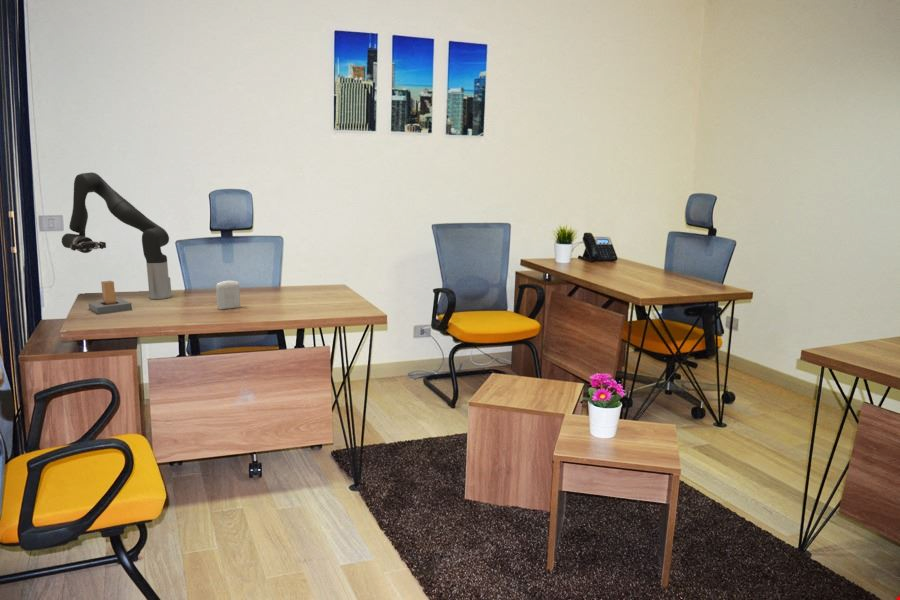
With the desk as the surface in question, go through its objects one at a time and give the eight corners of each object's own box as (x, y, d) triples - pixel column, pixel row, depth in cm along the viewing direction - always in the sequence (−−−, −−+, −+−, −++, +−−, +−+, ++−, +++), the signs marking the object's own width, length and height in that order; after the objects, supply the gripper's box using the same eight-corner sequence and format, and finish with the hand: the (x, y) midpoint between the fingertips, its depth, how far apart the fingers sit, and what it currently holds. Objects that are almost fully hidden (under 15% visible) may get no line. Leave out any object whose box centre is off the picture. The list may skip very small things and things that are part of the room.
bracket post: (113, 307, 322) (110, 280, 320) (116, 308, 319) (113, 282, 316) (103, 308, 320) (101, 281, 317) (106, 310, 316) (104, 283, 314)
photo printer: (239, 305, 326) (237, 278, 323) (242, 307, 322) (240, 280, 320) (216, 308, 320) (214, 281, 318) (218, 310, 317) (216, 282, 314)
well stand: (122, 305, 329) (121, 298, 328) (131, 309, 319) (131, 303, 318) (89, 309, 320) (88, 302, 320) (97, 314, 310) (97, 307, 309)
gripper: (65, 237, 335) (74, 240, 323) (98, 235, 344) (108, 237, 332) (67, 253, 337) (76, 257, 325) (99, 250, 346) (109, 254, 334)
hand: (92, 247), depth 328 cm, fingers open, 8 cm apart
